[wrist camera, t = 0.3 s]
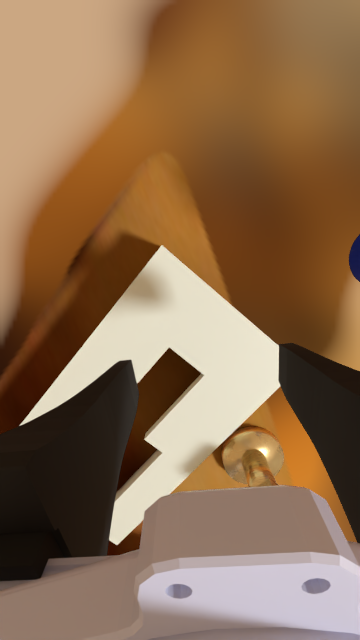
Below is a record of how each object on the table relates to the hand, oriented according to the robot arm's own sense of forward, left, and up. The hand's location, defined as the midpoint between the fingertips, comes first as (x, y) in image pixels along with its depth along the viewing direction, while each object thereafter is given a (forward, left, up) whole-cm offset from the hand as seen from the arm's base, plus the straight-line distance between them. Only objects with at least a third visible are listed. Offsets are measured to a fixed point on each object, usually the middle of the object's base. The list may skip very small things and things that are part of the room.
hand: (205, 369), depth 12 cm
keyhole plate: (-9, -1, -11) cm, 14 cm away
